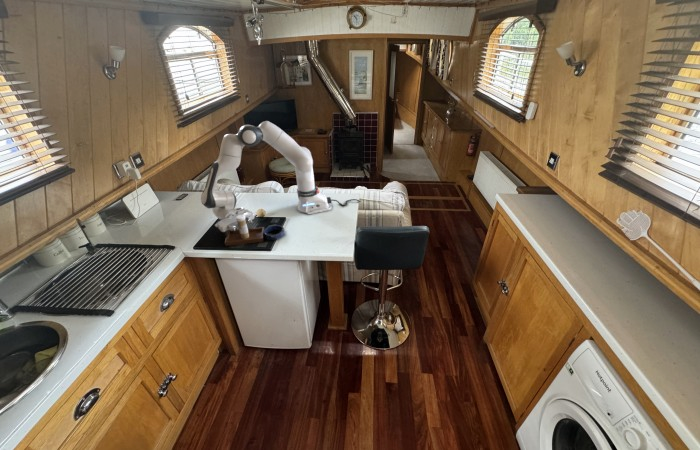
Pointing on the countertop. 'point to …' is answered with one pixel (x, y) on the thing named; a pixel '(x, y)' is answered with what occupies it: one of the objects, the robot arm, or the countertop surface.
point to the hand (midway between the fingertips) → (243, 225)
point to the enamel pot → (274, 237)
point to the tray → (254, 237)
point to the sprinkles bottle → (242, 226)
